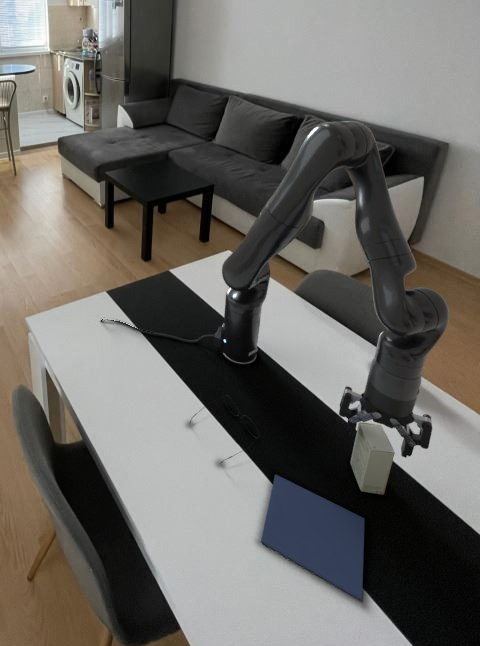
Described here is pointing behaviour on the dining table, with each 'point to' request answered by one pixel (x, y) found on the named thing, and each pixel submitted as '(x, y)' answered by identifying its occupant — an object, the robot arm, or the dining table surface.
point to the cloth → (316, 535)
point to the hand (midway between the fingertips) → (376, 442)
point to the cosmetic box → (372, 458)
